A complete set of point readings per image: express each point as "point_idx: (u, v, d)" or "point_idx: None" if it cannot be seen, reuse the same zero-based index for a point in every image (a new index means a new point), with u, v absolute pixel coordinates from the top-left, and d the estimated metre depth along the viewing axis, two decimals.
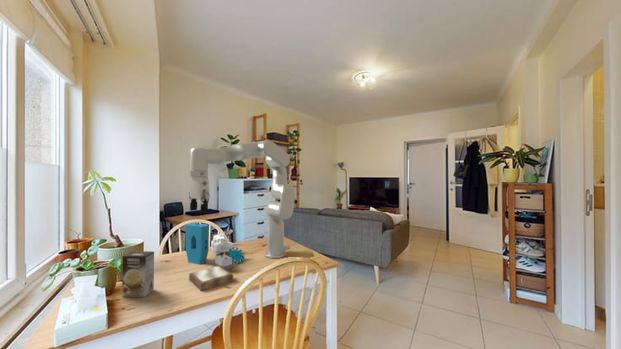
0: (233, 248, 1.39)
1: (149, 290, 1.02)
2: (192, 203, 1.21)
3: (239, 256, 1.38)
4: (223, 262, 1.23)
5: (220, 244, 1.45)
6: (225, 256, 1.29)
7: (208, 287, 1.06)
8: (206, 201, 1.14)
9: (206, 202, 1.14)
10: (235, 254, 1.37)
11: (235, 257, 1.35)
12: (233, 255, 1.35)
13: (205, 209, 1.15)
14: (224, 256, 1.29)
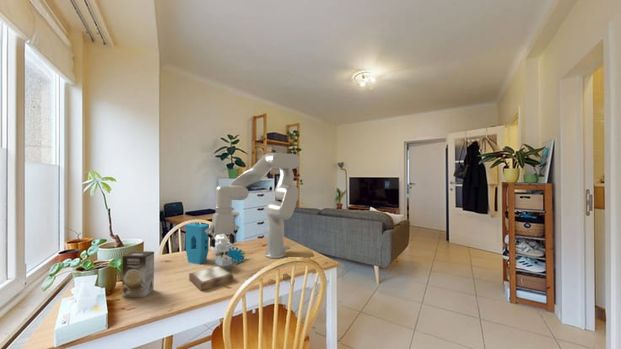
0: (233, 248, 1.39)
1: (149, 290, 1.02)
2: None
3: (239, 256, 1.38)
4: (223, 262, 1.23)
5: (220, 244, 1.45)
6: (225, 256, 1.29)
7: (208, 287, 1.06)
8: None
9: None
10: (235, 254, 1.37)
11: (235, 257, 1.36)
12: (233, 255, 1.36)
13: None
14: (224, 256, 1.29)
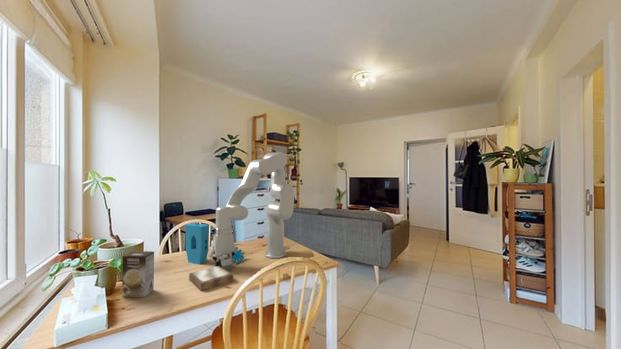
0: None
1: (149, 290, 1.02)
2: None
3: (238, 256, 1.38)
4: (223, 262, 1.23)
5: None
6: (225, 256, 1.29)
7: (208, 287, 1.06)
8: None
9: None
10: (234, 254, 1.37)
11: (234, 257, 1.36)
12: None
13: None
14: (224, 256, 1.29)
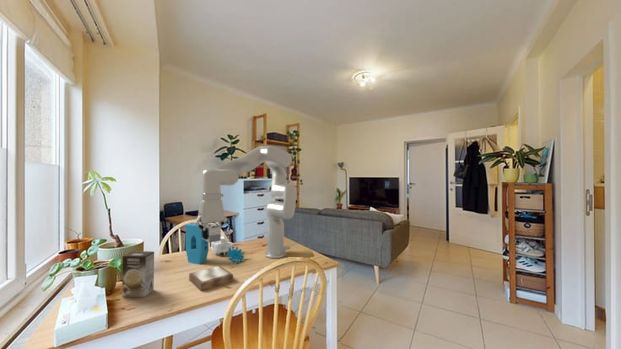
0: (233, 248, 1.40)
1: (149, 290, 1.02)
2: None
3: (238, 256, 1.38)
4: (210, 230, 1.09)
5: (220, 244, 1.45)
6: (213, 225, 1.15)
7: (208, 287, 1.06)
8: None
9: None
10: (234, 254, 1.37)
11: (234, 257, 1.36)
12: (232, 255, 1.36)
13: None
14: (212, 225, 1.15)
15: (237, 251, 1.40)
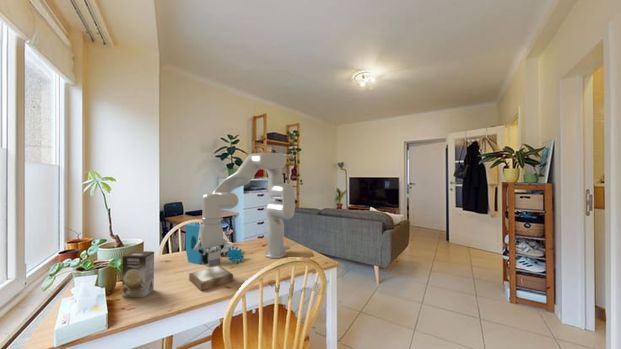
0: (233, 247, 1.40)
1: (149, 290, 1.02)
2: None
3: (238, 256, 1.38)
4: (210, 255, 1.09)
5: None
6: (213, 249, 1.15)
7: (208, 287, 1.06)
8: None
9: None
10: (234, 254, 1.37)
11: (234, 257, 1.36)
12: (232, 254, 1.36)
13: None
14: (212, 249, 1.15)
15: (237, 251, 1.40)
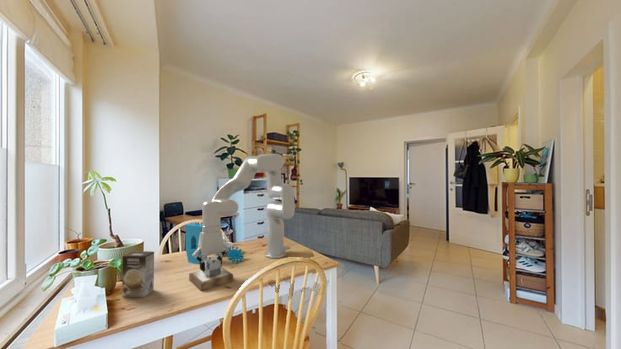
0: (233, 247, 1.40)
1: (149, 290, 1.02)
2: None
3: (238, 256, 1.38)
4: (210, 265, 1.10)
5: None
6: (213, 258, 1.15)
7: (208, 287, 1.06)
8: None
9: None
10: (234, 253, 1.37)
11: (233, 256, 1.36)
12: (231, 254, 1.36)
13: None
14: (212, 258, 1.15)
15: (237, 251, 1.40)
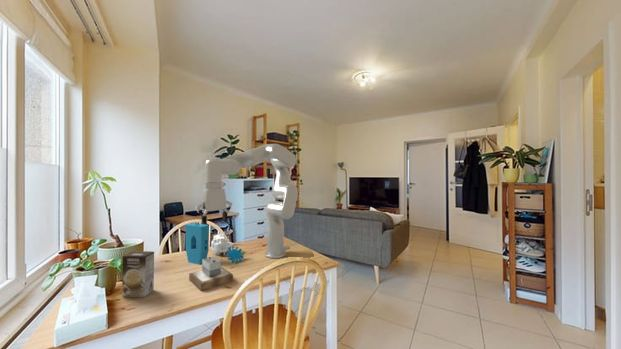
0: (233, 247, 1.40)
1: (149, 290, 1.02)
2: None
3: (238, 255, 1.38)
4: (210, 265, 1.10)
5: (220, 244, 1.45)
6: (213, 258, 1.15)
7: (208, 287, 1.06)
8: None
9: None
10: (234, 253, 1.38)
11: (233, 256, 1.36)
12: (231, 254, 1.37)
13: None
14: (212, 258, 1.15)
15: (237, 251, 1.40)
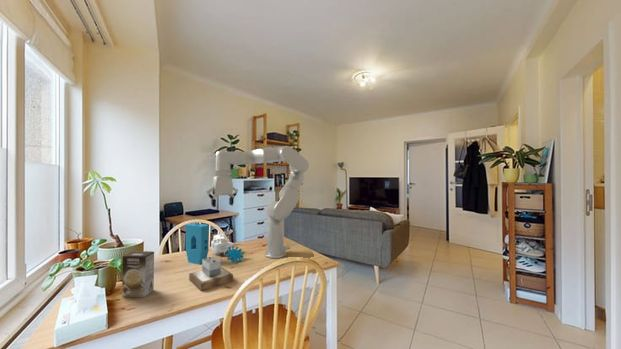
0: (233, 247, 1.41)
1: (149, 290, 1.02)
2: None
3: (237, 255, 1.39)
4: (210, 265, 1.10)
5: (220, 244, 1.45)
6: (213, 258, 1.15)
7: (208, 287, 1.06)
8: None
9: None
10: (233, 253, 1.38)
11: (233, 256, 1.37)
12: (231, 254, 1.37)
13: None
14: (212, 258, 1.15)
15: (237, 251, 1.40)
